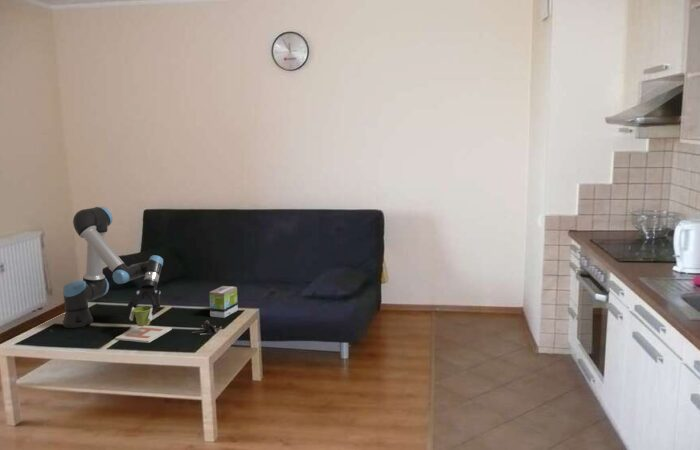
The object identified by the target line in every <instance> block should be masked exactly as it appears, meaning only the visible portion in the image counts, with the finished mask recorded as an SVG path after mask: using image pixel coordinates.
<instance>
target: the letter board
mask: <svg viewBox="0 0 700 450" xmlns="http://www.w3.org/2000/svg"><path fill="white" fill-rule="evenodd" d="M172 329H173V328H172V327H169V326H168V327H165V326H156V325H154V326H153V325H147V326H142V327H141V326H138V325H137V326H135V327H133V328H131V329H130V330H128V331H125V332H124V333H122V334H120V335H118V336H115V338H114V339H115V340H117V341H127V342H137V343H147V344H148V343H151V342H152V341H154V340H156V339H158V338H160V337H161V336H163V335H165V334H167V333H168V332H170V331H172Z"/></svg>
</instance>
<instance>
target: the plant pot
mask: <svg viewBox="0 0 700 450" xmlns="http://www.w3.org/2000/svg"><path fill="white" fill-rule="evenodd" d="M151 307H152V306H149V305H148V306H147V305H144V306H138V307H137V306H136V307H135V308H134V309H133V312H134V317H135V321H136V325H137V326H141V327H142V326H150V324H151V321H150V320H149V319H148V317H149V313H150V309H151Z"/></svg>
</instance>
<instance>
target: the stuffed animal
mask: <svg viewBox="0 0 700 450" xmlns="http://www.w3.org/2000/svg"><path fill="white" fill-rule="evenodd" d="M203 324H204V325H203ZM203 324H202V325H201V328H202V329H203V330H197V331H191V334H200V335H201V336H202V335H213V334H217V333H218V331H220V330H221V329H222V325H221V326H220V327H217V326H216V325H213V324H211V323H210V321H209V320H205V321H204V323H203ZM216 327H217V328H216Z"/></svg>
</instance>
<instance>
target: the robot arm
mask: <svg viewBox="0 0 700 450" xmlns="http://www.w3.org/2000/svg"><path fill="white" fill-rule="evenodd" d="M112 223H113V215H112V213H111V211H110V210H109V209H108V208H106V207H105V206H95V207H91V208H90V207H89V208H86V209H85V208H84V209H80V210H79V211H77V212H76V213H75V215H74V216H73V219H72V224H73V228H74V230H75V232H76V234H77V235H78V237H80V238H81V239H84V240H85V242H87V243H86V245H87V247H86V249H87V250H86V265H85V266H86V268H85V269H86V270H85V273H84V274H83V276H82V280H81V279H80V280H75V281H70V282H68V283H66V284H65V285H63V292H62V295H63V300H64V301H63V302H64V309H65V312H64V317H63V320H62V323H63V327H64V328H67V329H68V328H69V329H74V328H75V329H76V328H82V327H86V326H85V325H87V324H89V323H91V324H93V322H94V318H93V316H92V314H91V311H90V309H89V302H92V301H93V300H96V299H100V298H101V297H103V296H105V295H107V293H108V292H109V289H110V284H109V281H108V279H107V278H106V276H105V274H104V273H103V271H104V270H103V269H104V264H105V265H106V266H107V267H108V269H109V270H110V271H111V272H112V279H113V282H114V283H116V284H118V285H122V284H125V283H128V282H130V281H134V280H136V279H138V278H141V277H143V280H142V283H141V288H140V290H137V289H135V290H134V292H133V295H132V297H131V299H130V300H129V301H128V304H127V307H128V308H129V320H130V321H131V322H132V321H134V317H135V314H134V312H133V309H134V308H137V306H139V304H140V303H141V301H143V300H145V299H150V302H151V306H150V307H151V309H150V313H149V317H148V319H149V320H150V322H152V320H153V315H155V314H156V310H157V309H160V308H161V294H162V292H161V290H160V289H157V288H158V283H159V281H160V280H159V279H160V276H161V272H162V267H163V266H164V258H162V256H160V255H154V254H153V255H151V256H150V257H149V258H148V261H144V262H138V263H134V264H131V265H130V266H127V265H126V264H125V262H124V261H123V260H122V259H121V258H120V256H119V255H118V254H117V253H116V251H114V249H113V247H111V245H110V244H109V243H108V242H107V241H106V239H105V234H107V232H108V229H109V228H108V227H109V226H110V225H111V224H112ZM154 295H155V298H154ZM89 325H90V324H89ZM87 326H88V325H87Z"/></svg>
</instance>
